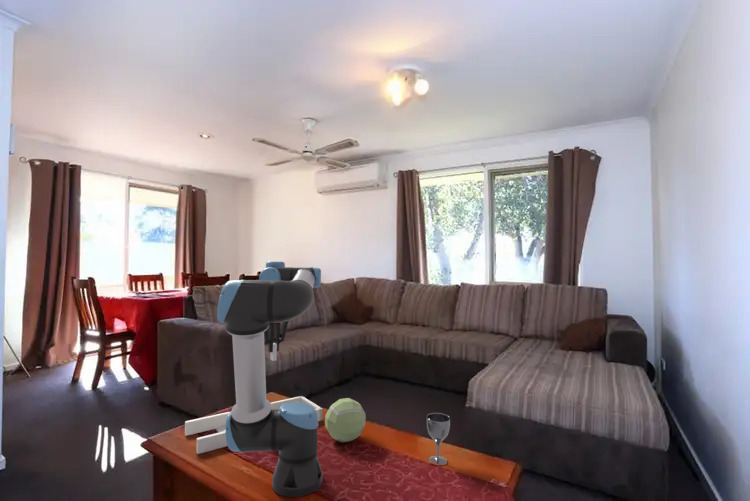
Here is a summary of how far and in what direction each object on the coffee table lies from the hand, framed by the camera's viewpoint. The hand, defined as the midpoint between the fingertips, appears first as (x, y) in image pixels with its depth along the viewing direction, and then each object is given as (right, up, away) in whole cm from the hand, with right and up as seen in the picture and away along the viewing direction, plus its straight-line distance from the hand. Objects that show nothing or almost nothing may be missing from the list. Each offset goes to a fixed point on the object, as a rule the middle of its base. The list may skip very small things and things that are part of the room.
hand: (273, 359), depth 158 cm
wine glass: (+62, -29, -21) cm, 71 cm away
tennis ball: (+29, -29, -6) cm, 41 cm away
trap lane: (-8, -30, +4) cm, 32 cm away
